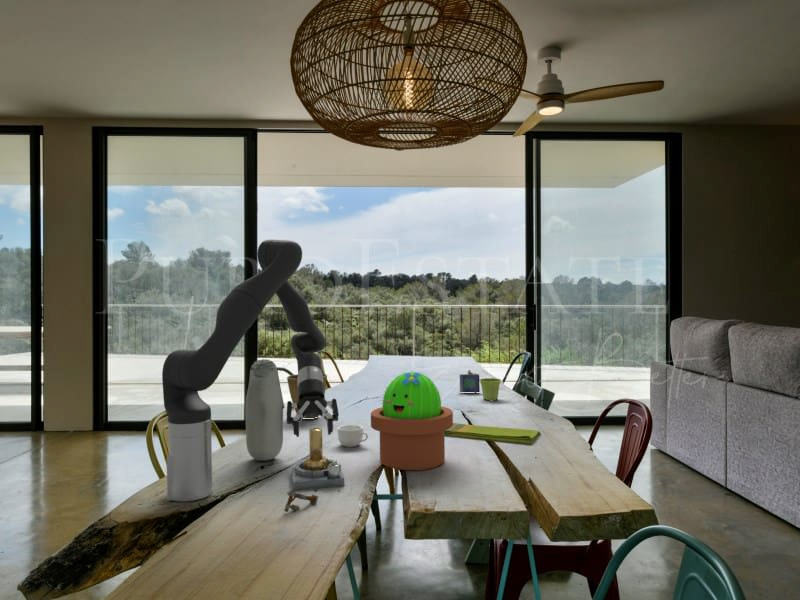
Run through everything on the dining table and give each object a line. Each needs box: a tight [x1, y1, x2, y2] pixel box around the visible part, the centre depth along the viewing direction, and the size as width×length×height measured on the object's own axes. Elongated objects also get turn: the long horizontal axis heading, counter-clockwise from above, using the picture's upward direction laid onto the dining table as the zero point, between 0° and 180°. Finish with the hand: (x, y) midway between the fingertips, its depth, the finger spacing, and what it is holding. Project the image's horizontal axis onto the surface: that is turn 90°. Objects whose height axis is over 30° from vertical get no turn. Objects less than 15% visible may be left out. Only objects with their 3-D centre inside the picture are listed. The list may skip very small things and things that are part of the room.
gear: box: [303, 427, 329, 471], centre depth 136 cm, size 6×6×10 cm
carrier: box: [291, 458, 345, 491], centre depth 135 cm, size 12×13×6 cm
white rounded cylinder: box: [244, 358, 284, 462], centre depth 152 cm, size 10×10×28 cm
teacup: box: [337, 424, 369, 448], centre depth 165 cm, size 10×8×5 cm
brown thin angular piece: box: [283, 489, 319, 513], centre depth 116 cm, size 2×8×4 cm, turn 139°
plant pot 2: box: [479, 377, 502, 401], centre depth 237 cm, size 9×9×9 cm
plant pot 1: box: [286, 373, 328, 418], centre depth 205 cm, size 15×15×16 cm
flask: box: [459, 370, 481, 393], centre depth 254 cm, size 9×3×11 cm, turn 84°
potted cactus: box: [370, 370, 454, 471], centre depth 149 cm, size 22×22×25 cm
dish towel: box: [444, 422, 541, 445], centre depth 178 cm, size 15×36×3 cm, turn 64°
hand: (313, 434), depth 148 cm, fingers open, 8 cm apart
